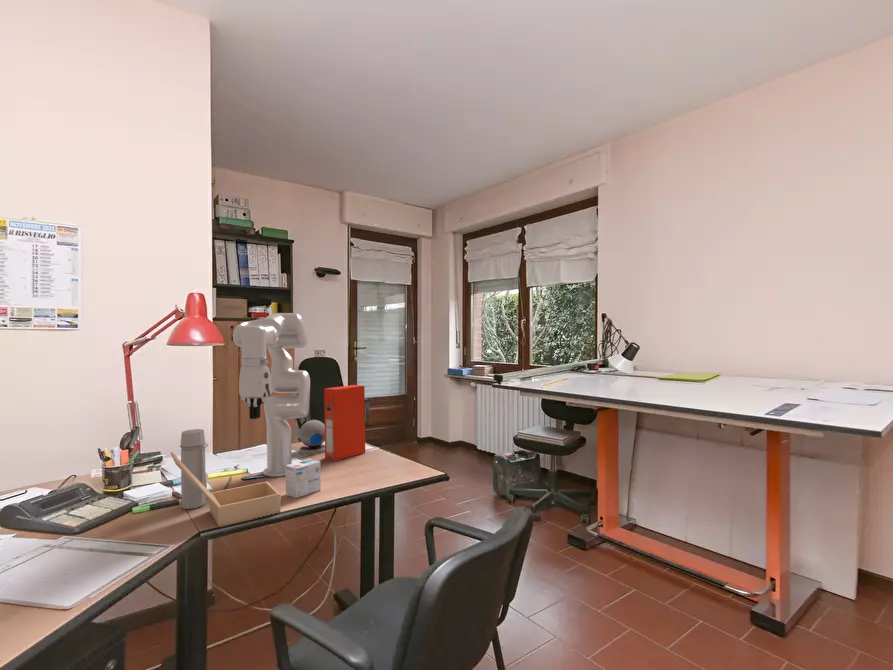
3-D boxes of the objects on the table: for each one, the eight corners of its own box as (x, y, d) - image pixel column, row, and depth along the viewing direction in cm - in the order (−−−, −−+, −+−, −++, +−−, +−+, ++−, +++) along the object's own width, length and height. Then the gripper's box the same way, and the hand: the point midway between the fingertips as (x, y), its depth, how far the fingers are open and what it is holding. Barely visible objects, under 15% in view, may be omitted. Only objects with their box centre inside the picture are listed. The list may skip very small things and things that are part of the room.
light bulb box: (310, 486, 169) (310, 457, 169) (321, 490, 165) (321, 461, 164) (284, 494, 161) (284, 464, 160) (295, 499, 156) (295, 468, 156)
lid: (209, 491, 146) (207, 493, 146) (171, 451, 140) (170, 453, 139) (218, 506, 134) (216, 507, 134) (177, 462, 128) (175, 464, 127)
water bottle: (175, 508, 148) (174, 432, 148) (196, 500, 156) (195, 428, 155) (195, 512, 145) (194, 435, 145) (216, 503, 152) (215, 429, 152)
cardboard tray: (209, 511, 146) (209, 492, 146) (267, 498, 157) (267, 481, 157) (218, 527, 134) (218, 507, 134) (280, 512, 145) (280, 493, 145)
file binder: (324, 458, 206) (324, 388, 206) (354, 450, 220) (353, 384, 219) (335, 461, 201) (335, 389, 201) (365, 453, 215) (364, 385, 214)
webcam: (323, 446, 228) (323, 416, 228) (330, 452, 217) (330, 421, 216) (297, 449, 221) (296, 419, 221) (302, 456, 210) (302, 424, 210)
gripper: (280, 362, 151) (281, 417, 151) (244, 361, 156) (245, 414, 156) (264, 364, 144) (265, 422, 144) (227, 363, 148) (228, 419, 149)
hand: (255, 418), depth 150 cm, fingers closed
